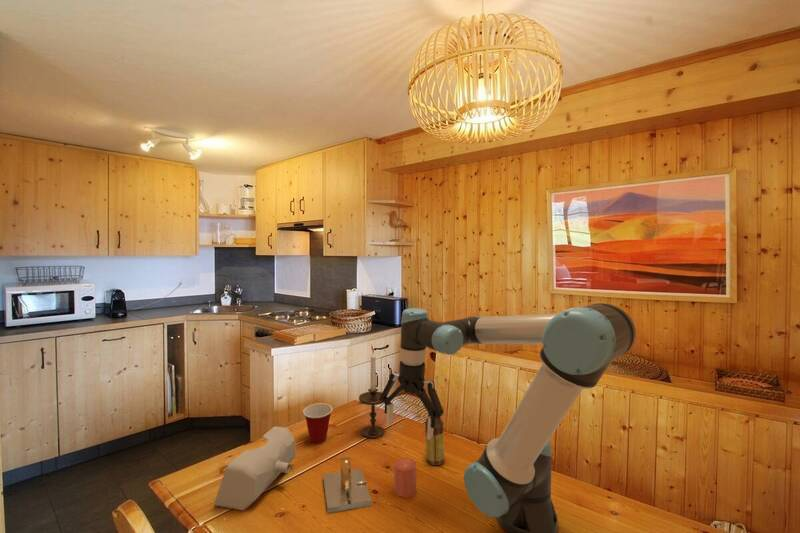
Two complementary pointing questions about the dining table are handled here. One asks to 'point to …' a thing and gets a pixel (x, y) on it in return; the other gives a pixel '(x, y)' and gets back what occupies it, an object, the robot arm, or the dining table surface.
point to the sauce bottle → (435, 443)
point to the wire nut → (405, 477)
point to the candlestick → (372, 405)
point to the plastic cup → (317, 421)
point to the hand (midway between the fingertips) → (409, 430)
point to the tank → (256, 470)
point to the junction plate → (340, 495)
